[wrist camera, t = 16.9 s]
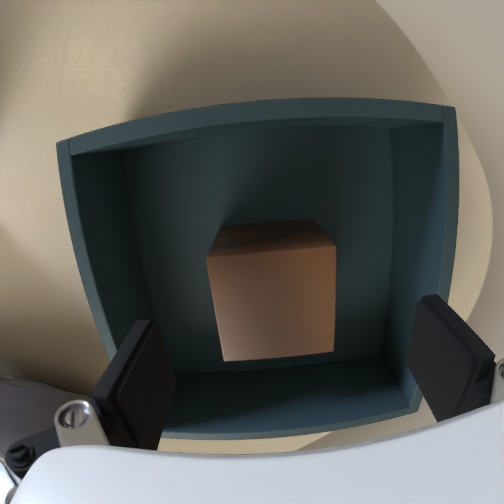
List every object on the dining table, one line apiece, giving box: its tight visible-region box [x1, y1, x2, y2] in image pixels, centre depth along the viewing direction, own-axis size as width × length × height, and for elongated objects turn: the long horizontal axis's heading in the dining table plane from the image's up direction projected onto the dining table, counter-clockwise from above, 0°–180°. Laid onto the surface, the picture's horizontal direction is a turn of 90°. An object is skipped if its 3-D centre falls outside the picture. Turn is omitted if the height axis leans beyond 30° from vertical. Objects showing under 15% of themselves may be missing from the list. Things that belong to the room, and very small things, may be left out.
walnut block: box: [206, 219, 336, 361], centre depth 16 cm, size 6×6×6 cm
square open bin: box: [56, 98, 459, 440], centre depth 16 cm, size 18×18×7 cm
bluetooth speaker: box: [0, 374, 90, 459], centre depth 20 cm, size 23×9×10 cm, turn 96°
